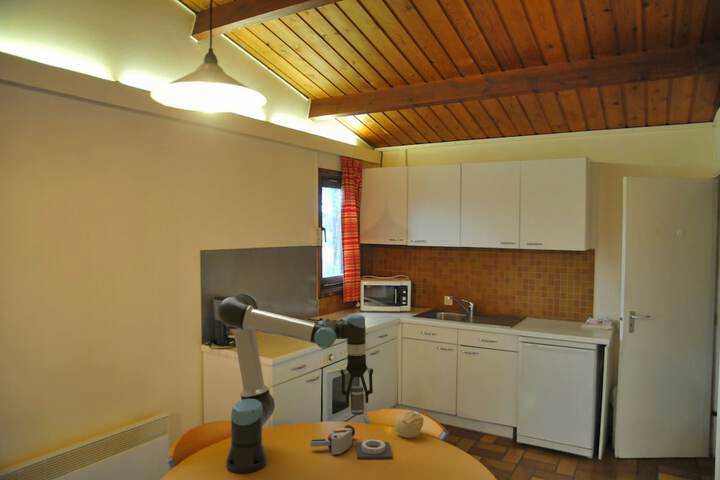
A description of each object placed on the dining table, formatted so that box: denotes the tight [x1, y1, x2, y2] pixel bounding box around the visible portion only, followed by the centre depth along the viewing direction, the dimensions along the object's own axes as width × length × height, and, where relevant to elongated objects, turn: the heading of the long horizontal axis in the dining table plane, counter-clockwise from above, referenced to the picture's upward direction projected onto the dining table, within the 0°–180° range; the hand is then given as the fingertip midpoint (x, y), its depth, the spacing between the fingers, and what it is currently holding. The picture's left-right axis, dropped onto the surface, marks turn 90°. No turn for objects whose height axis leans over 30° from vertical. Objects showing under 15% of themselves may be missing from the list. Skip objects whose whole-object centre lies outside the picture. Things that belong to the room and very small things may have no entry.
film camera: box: [309, 424, 356, 455], centre depth 210 cm, size 7×19×15 cm
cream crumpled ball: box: [394, 410, 424, 439], centre depth 221 cm, size 12×12×11 cm
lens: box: [350, 385, 365, 416], centre depth 201 cm, size 5×5×10 cm
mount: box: [355, 439, 393, 460], centre depth 204 cm, size 14×14×3 cm
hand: (357, 410), depth 201 cm, fingers closed on lens, 5 cm apart
